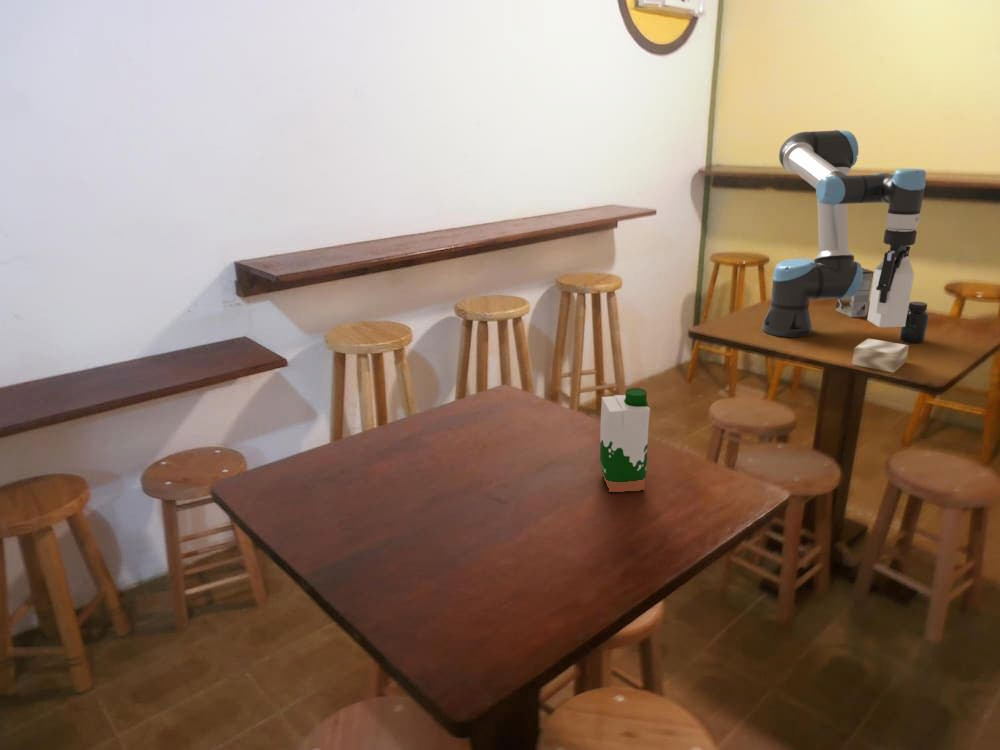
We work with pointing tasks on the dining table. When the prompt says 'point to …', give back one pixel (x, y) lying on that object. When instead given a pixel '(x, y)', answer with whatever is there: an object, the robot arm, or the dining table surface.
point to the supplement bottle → (915, 323)
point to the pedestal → (880, 355)
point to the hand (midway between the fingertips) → (888, 309)
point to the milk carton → (893, 296)
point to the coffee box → (857, 298)
